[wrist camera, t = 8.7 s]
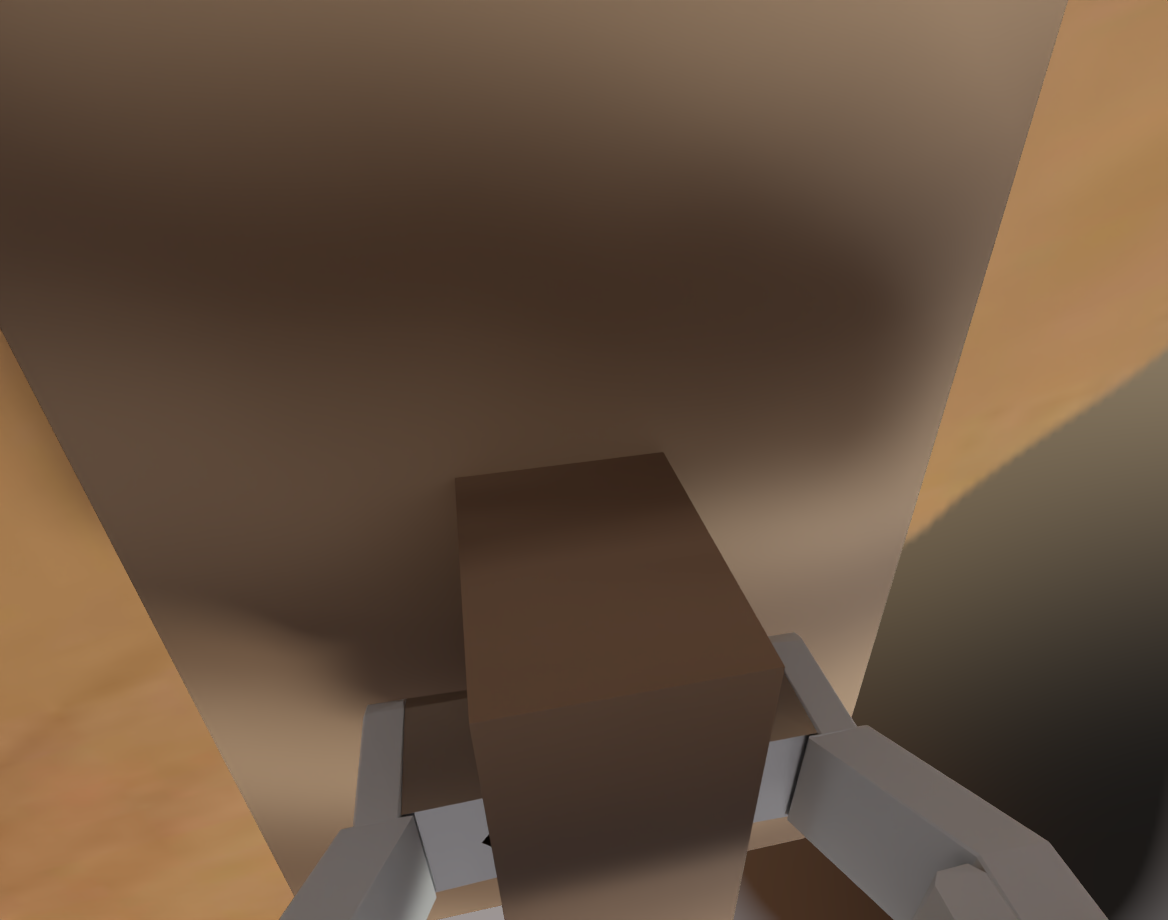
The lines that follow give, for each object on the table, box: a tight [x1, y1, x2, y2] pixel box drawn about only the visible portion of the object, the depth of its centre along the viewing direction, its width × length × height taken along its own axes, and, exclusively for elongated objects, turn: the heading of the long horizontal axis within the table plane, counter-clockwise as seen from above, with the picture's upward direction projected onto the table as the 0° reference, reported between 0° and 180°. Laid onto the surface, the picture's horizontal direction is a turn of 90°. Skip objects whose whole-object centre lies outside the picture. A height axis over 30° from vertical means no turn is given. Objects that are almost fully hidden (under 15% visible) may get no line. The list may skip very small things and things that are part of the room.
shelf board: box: [0, 0, 1068, 920], centre depth 10 cm, size 18×12×6 cm, turn 1°
